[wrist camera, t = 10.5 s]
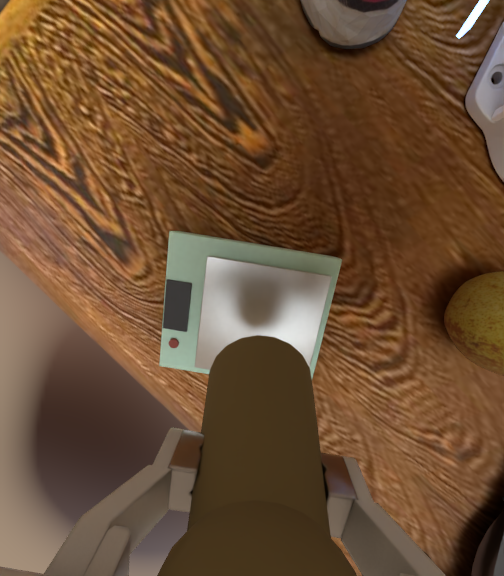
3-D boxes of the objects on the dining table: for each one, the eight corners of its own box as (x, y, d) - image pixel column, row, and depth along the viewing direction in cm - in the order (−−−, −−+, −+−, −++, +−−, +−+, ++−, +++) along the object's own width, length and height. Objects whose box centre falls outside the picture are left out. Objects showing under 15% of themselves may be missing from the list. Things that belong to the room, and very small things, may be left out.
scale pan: (208, 255, 21) (206, 255, 21) (330, 275, 21) (332, 276, 21) (195, 364, 24) (194, 367, 23) (304, 382, 24) (305, 386, 23)
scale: (177, 230, 24) (167, 230, 22) (334, 256, 24) (343, 259, 21) (167, 354, 27) (157, 367, 25) (305, 377, 27) (310, 393, 25)
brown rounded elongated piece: (187, 373, 14) (-47, 826, 3) (269, 314, 13) (307, 698, 2) (251, 442, 15) (226, 963, 4) (332, 392, 14) (564, 917, 3)
